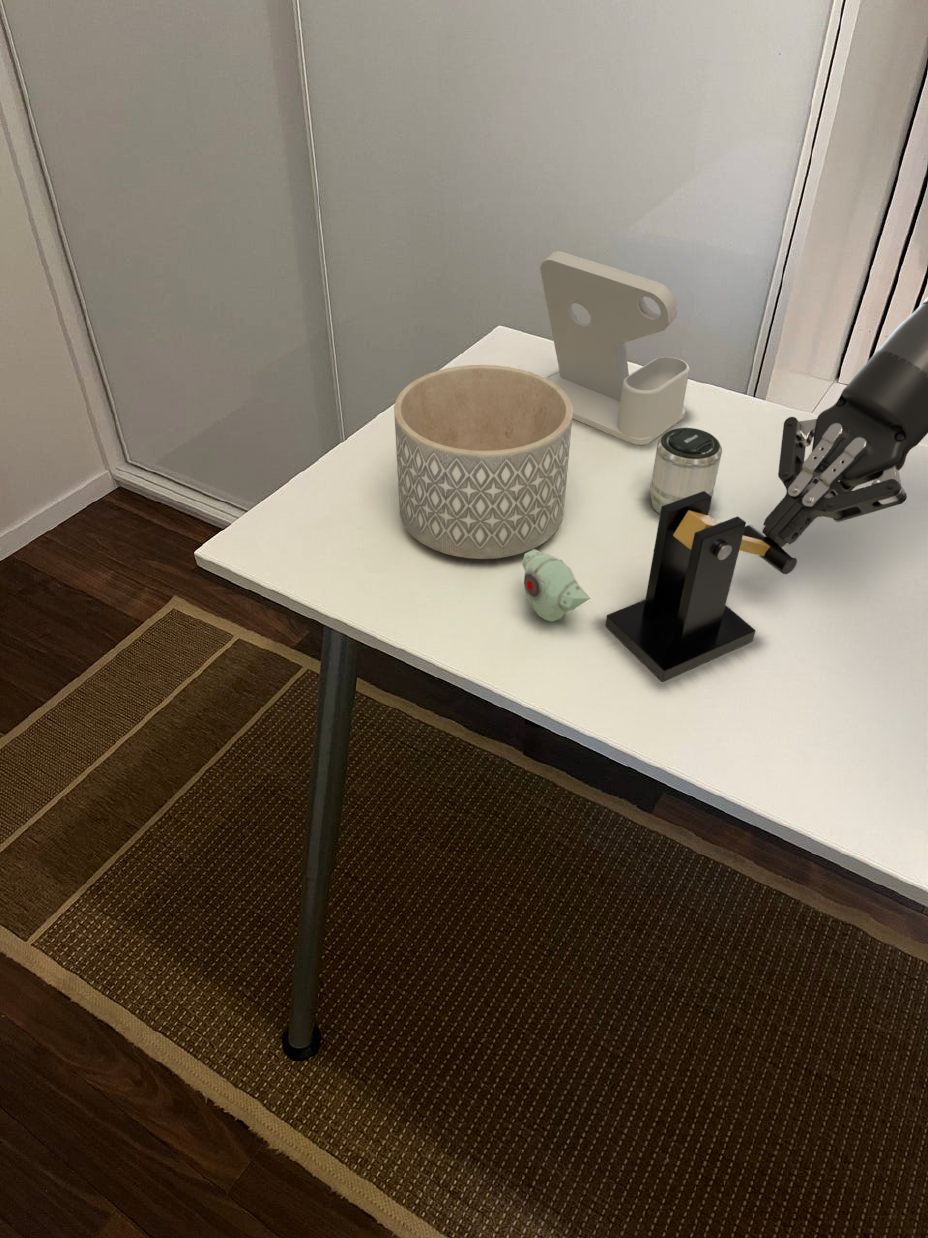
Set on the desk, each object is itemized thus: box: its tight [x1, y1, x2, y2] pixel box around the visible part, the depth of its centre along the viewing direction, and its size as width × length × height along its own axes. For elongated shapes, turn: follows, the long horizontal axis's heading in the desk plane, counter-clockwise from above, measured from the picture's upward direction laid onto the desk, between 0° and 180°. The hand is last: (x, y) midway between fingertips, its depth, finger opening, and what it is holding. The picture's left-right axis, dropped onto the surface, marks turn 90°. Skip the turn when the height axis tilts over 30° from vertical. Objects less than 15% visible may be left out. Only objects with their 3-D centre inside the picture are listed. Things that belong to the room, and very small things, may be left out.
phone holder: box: [539, 250, 690, 446], centre depth 106 cm, size 17×10×18 cm, turn 49°
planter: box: [393, 364, 573, 560], centre depth 91 cm, size 16×16×13 cm
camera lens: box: [650, 427, 723, 515], centre depth 94 cm, size 6×6×8 cm
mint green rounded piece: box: [521, 548, 591, 622], centre depth 81 cm, size 8×4×7 cm, turn 33°
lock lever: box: [673, 510, 798, 575], centre depth 78 cm, size 12×6×2 cm, turn 120°
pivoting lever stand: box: [605, 491, 756, 683], centre depth 78 cm, size 10×8×13 cm
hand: (771, 539), depth 81 cm, fingers closed
